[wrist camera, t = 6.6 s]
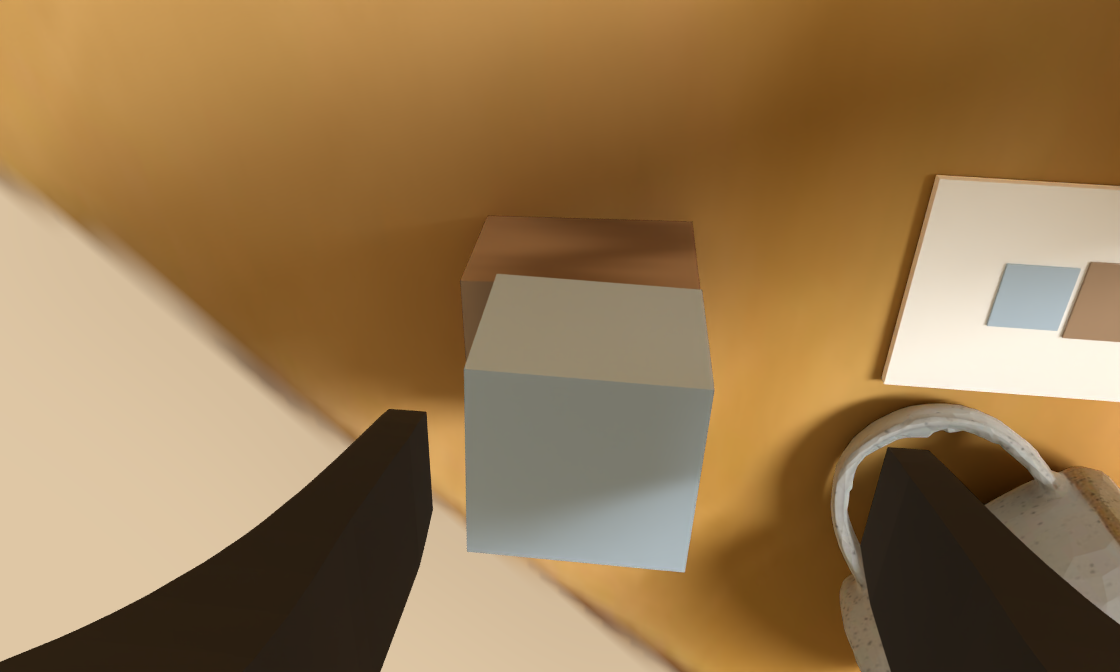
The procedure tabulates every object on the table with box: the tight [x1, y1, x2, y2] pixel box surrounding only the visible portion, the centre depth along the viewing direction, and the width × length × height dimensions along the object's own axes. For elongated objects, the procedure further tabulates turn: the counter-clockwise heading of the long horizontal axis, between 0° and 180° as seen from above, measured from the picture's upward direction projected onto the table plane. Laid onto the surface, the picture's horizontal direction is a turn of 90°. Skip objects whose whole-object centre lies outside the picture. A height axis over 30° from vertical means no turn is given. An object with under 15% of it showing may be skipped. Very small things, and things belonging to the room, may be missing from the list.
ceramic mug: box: [831, 403, 1120, 672], centre depth 23 cm, size 11×8×8 cm
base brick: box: [460, 216, 700, 361], centre depth 22 cm, size 5×5×4 cm
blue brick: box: [464, 274, 714, 572], centre depth 18 cm, size 5×5×4 cm
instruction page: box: [882, 175, 1120, 402], centre depth 22 cm, size 8×6×1 cm
